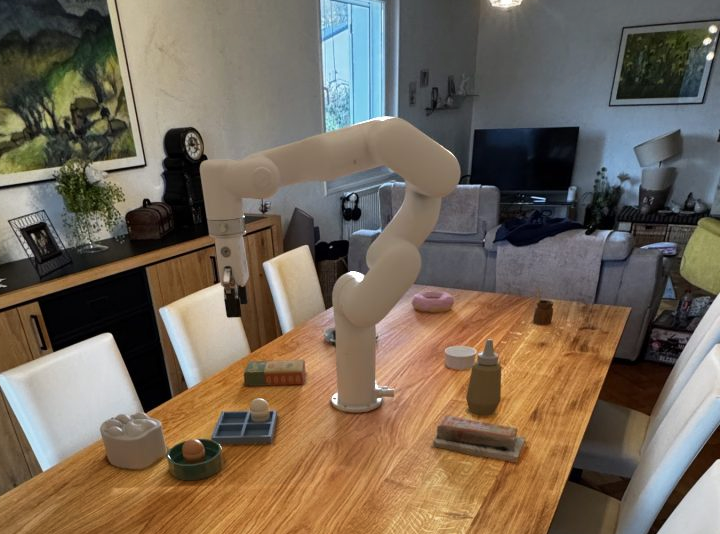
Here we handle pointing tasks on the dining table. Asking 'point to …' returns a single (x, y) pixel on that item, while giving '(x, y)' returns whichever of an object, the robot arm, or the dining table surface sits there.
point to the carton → (274, 372)
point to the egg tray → (243, 428)
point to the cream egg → (259, 410)
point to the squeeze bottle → (485, 382)
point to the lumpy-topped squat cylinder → (133, 440)
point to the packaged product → (479, 438)
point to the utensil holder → (543, 311)
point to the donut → (432, 301)
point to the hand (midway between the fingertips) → (237, 310)
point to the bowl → (200, 469)
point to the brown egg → (193, 452)
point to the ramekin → (460, 357)
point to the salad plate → (333, 336)
